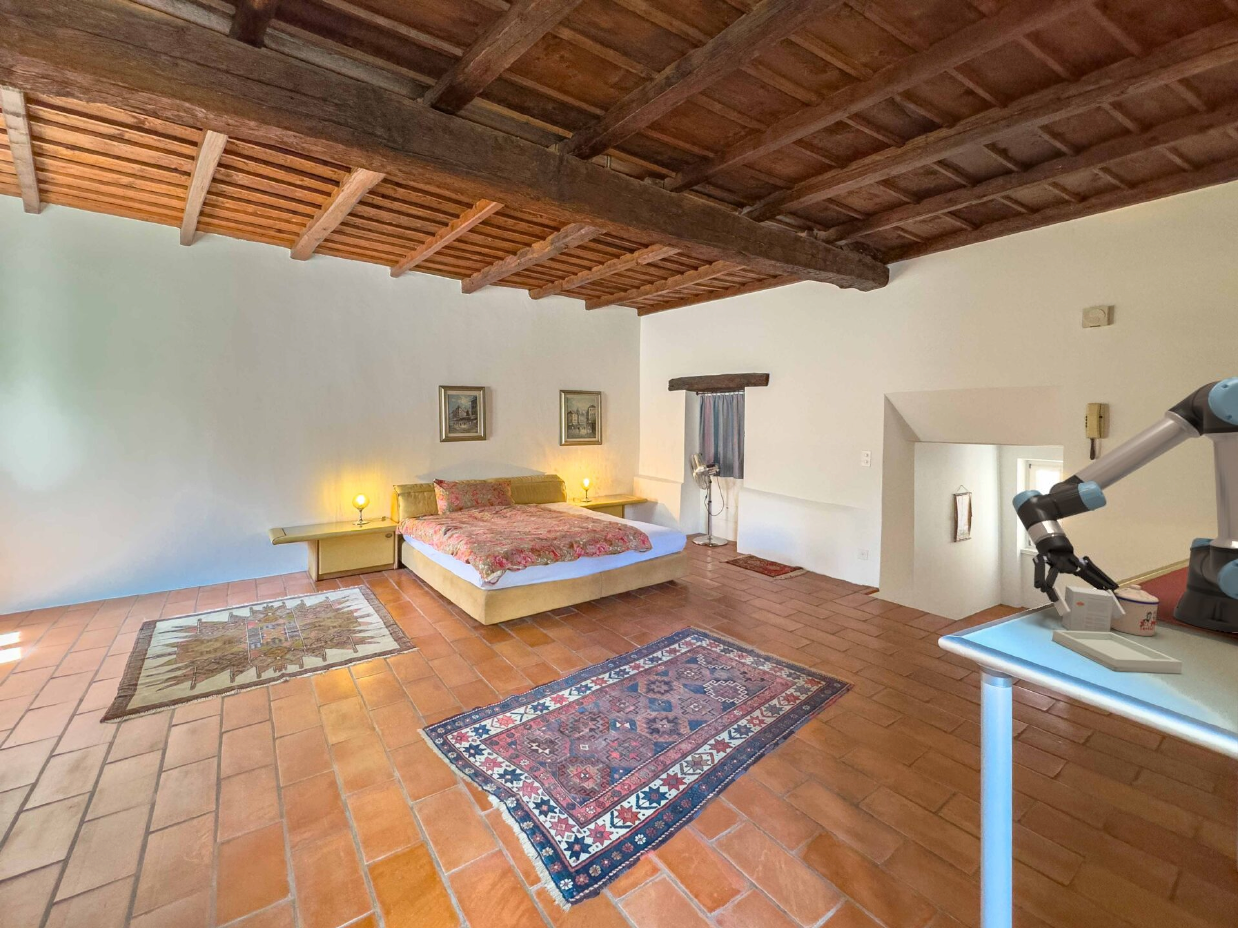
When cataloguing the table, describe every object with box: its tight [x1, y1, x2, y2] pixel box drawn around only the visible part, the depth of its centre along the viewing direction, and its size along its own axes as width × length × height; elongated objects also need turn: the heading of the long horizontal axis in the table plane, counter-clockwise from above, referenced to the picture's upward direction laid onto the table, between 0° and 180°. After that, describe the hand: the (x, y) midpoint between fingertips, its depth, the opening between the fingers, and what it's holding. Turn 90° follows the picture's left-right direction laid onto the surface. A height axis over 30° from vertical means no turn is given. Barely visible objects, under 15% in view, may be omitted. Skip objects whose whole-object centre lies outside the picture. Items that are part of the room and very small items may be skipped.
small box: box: [1062, 585, 1113, 632], centre depth 135 cm, size 8×6×10 cm
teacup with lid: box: [1110, 584, 1160, 637], centre depth 139 cm, size 12×9×12 cm
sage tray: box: [1051, 629, 1183, 674], centre depth 121 cm, size 14×16×2 cm
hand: (1093, 615), depth 133 cm, fingers open, 13 cm apart
